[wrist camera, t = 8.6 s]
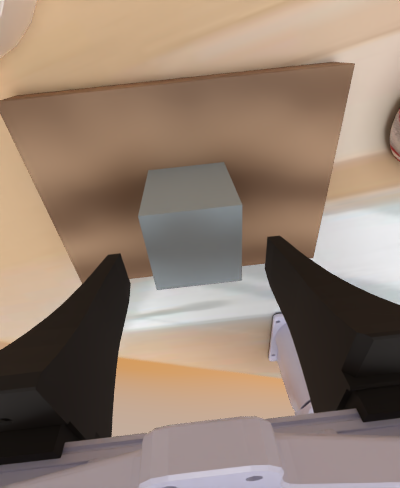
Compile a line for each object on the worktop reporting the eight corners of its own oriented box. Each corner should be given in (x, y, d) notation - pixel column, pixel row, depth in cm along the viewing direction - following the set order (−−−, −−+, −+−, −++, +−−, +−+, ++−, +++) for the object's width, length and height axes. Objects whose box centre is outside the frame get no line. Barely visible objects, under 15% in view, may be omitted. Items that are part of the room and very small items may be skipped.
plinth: (302, 241, 25) (313, 257, 23) (90, 265, 25) (82, 284, 23) (333, 62, 17) (354, 63, 15) (16, 95, 17) (-6, 102, 15)
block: (226, 226, 21) (241, 280, 16) (161, 233, 20) (156, 290, 16) (224, 162, 18) (242, 204, 13) (148, 170, 18) (137, 216, 13)
